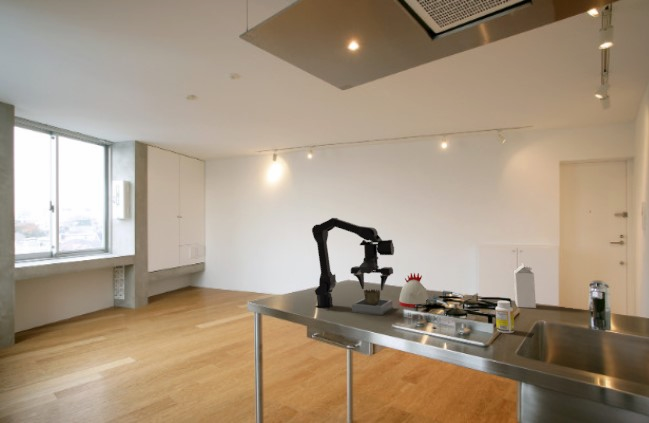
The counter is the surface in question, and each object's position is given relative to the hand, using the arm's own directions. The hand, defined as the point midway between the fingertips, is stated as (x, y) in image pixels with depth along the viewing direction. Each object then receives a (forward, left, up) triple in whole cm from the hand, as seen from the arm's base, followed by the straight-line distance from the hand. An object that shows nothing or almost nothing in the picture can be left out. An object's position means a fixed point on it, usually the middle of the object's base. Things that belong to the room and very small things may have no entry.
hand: (372, 289), depth 159 cm
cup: (0, 0, -9) cm, 9 cm away
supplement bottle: (+54, -12, -9) cm, 56 cm away
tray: (0, 0, -9) cm, 9 cm away
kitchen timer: (+14, +18, -10) cm, 25 cm away
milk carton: (+60, +31, -9) cm, 68 cm away
